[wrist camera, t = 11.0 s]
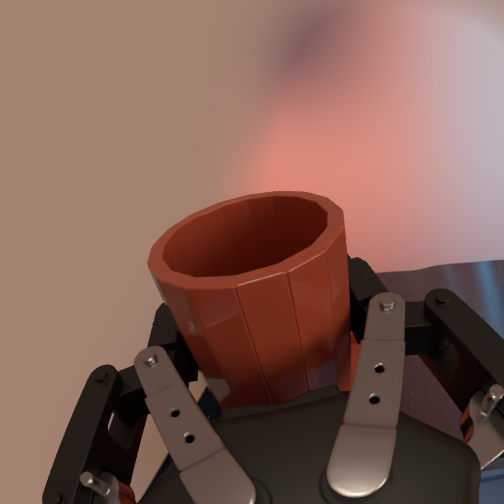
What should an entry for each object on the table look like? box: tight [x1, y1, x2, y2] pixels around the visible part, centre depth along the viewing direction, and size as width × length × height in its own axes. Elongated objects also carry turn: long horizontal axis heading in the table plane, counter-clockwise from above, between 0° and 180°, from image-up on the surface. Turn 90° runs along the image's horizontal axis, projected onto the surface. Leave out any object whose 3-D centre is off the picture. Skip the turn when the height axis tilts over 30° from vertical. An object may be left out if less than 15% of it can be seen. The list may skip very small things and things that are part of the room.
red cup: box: [147, 191, 351, 409], centre depth 12 cm, size 6×6×11 cm
